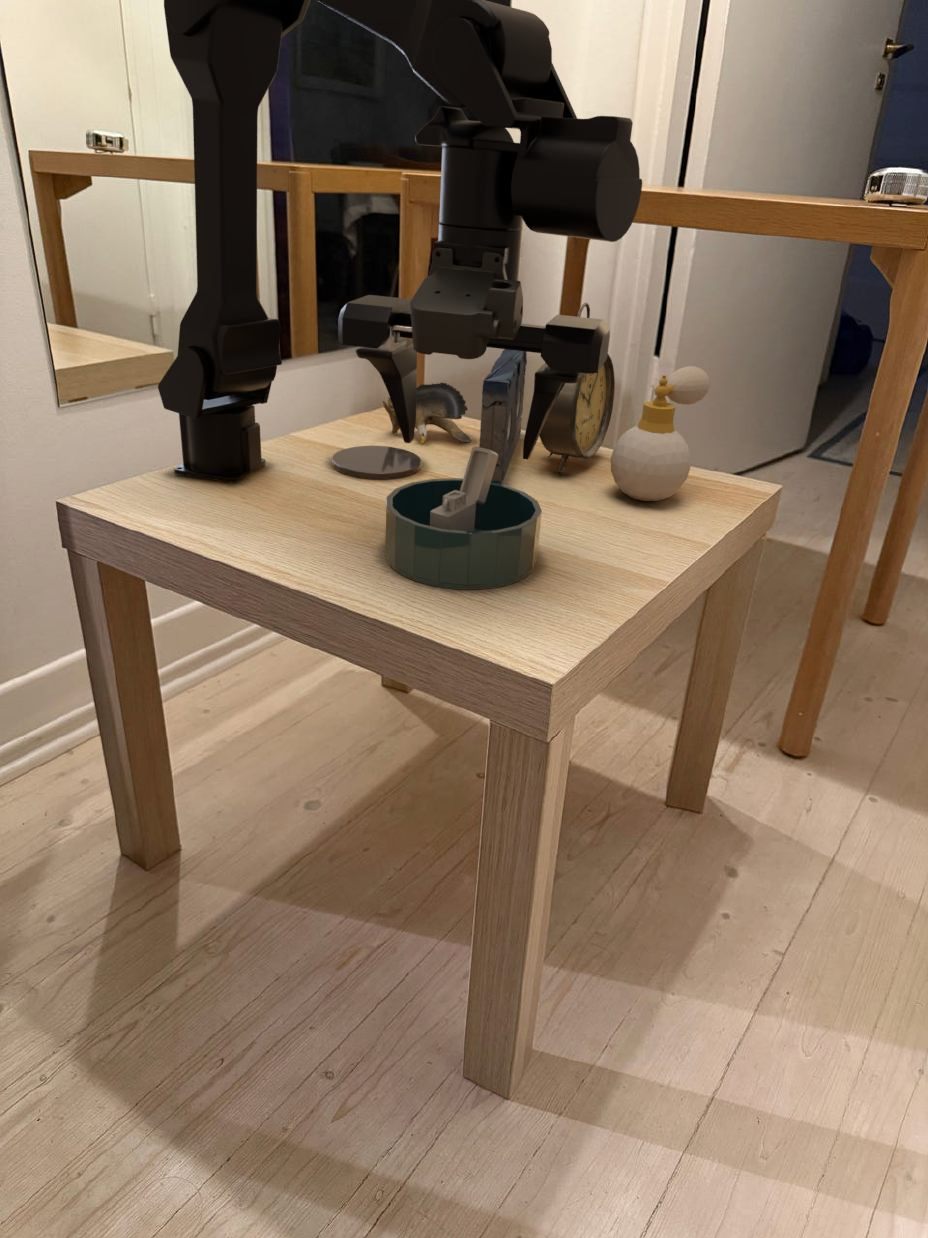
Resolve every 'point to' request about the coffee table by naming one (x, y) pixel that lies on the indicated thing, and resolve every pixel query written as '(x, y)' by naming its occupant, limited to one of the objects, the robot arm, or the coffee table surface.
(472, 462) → the lighter
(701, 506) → the coffee table surface
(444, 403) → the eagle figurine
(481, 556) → the shallow faceted bowl
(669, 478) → the perfume bottle
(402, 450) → the coaster
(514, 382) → the vhs cassette tape
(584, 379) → the alarm clock
